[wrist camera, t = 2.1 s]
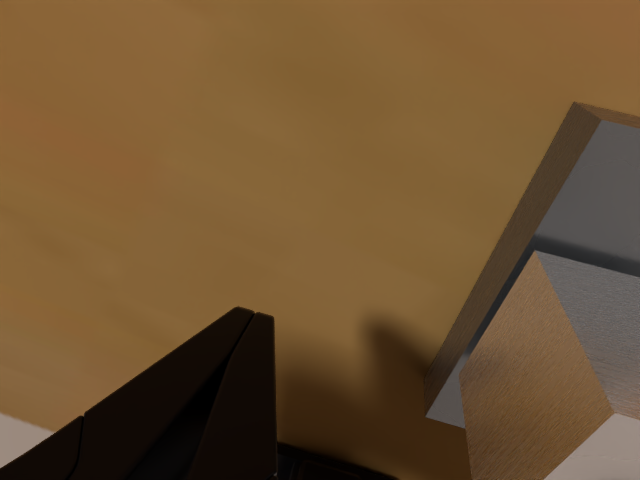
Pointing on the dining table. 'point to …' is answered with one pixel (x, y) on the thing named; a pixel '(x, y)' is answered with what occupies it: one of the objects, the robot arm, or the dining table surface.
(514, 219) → the plate
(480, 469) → the block
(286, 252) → the dining table surface
